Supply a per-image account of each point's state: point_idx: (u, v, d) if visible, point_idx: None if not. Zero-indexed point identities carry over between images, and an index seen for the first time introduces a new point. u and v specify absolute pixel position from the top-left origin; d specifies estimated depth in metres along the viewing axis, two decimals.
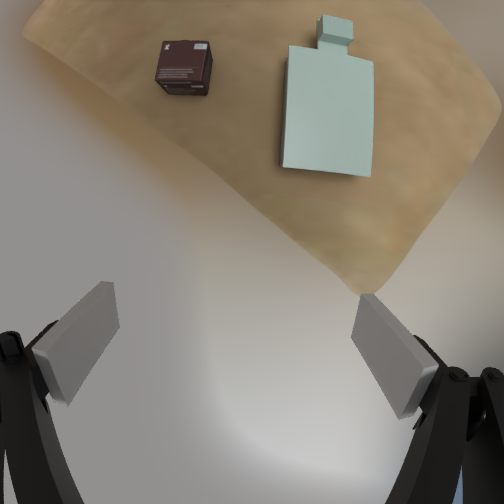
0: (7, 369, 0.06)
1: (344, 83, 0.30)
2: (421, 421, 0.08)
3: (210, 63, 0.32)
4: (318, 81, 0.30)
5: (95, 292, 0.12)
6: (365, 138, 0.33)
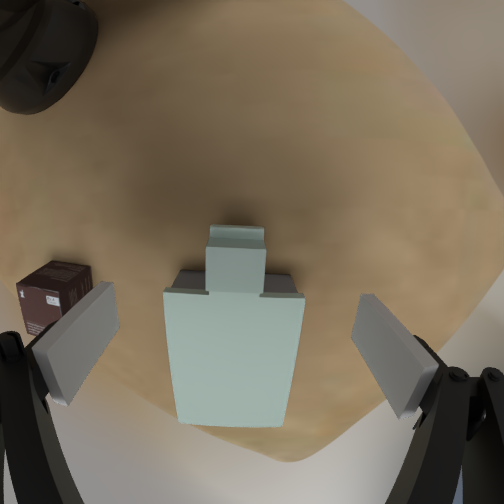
0: (7, 369, 0.06)
1: (250, 343, 0.24)
2: (421, 421, 0.08)
3: (83, 287, 0.26)
4: (210, 345, 0.24)
5: (95, 292, 0.12)
6: (277, 398, 0.26)
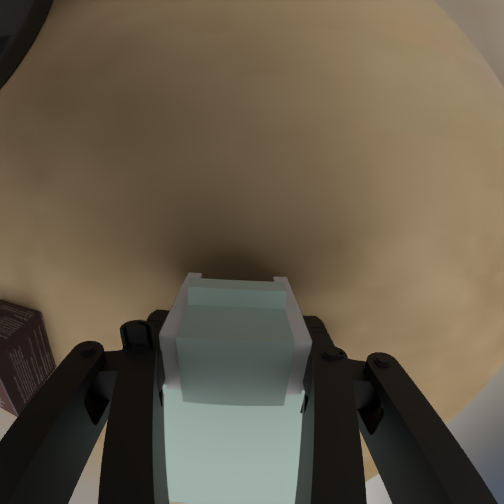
0: (129, 357, 0.08)
1: (257, 440, 0.14)
2: (305, 405, 0.09)
3: (31, 342, 0.16)
4: (199, 441, 0.14)
5: None
6: (291, 485, 0.16)
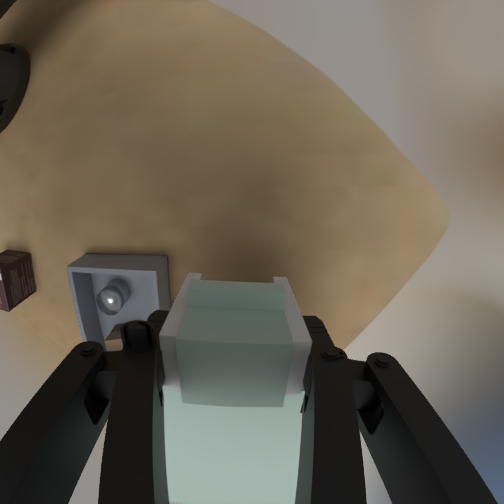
0: (129, 357, 0.08)
1: (257, 441, 0.14)
2: (305, 405, 0.09)
3: (23, 268, 0.29)
4: (199, 442, 0.14)
5: None
6: (291, 486, 0.16)
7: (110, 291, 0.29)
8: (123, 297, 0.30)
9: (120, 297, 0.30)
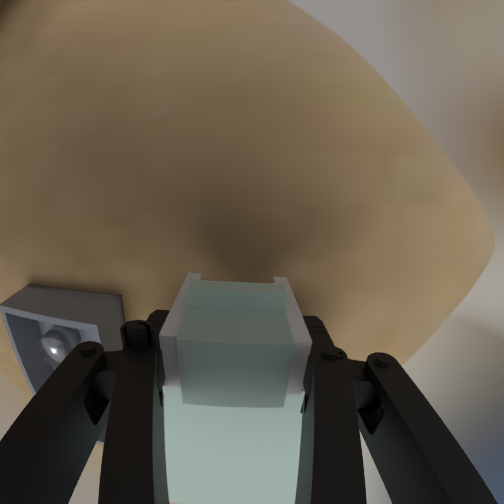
0: (129, 357, 0.08)
1: (257, 441, 0.14)
2: (305, 405, 0.09)
3: None
4: (199, 442, 0.14)
5: None
6: (291, 486, 0.16)
7: (52, 341, 0.19)
8: (70, 347, 0.20)
9: (64, 349, 0.19)
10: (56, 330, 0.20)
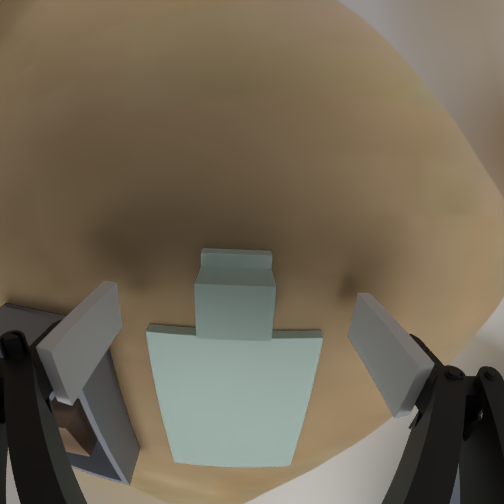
0: (11, 368, 0.06)
1: (254, 388, 0.19)
2: (417, 420, 0.08)
3: None
4: (206, 390, 0.19)
5: (98, 291, 0.12)
6: (285, 440, 0.21)
7: None
8: None
9: None
10: None
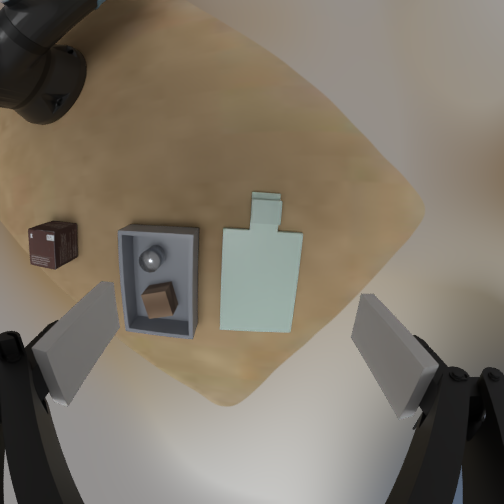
0: (7, 369, 0.06)
1: (271, 261, 0.43)
2: (421, 421, 0.08)
3: (70, 235, 0.39)
4: (248, 262, 0.43)
5: (95, 292, 0.12)
6: (287, 305, 0.45)
7: (154, 252, 0.39)
8: (162, 259, 0.40)
9: (160, 259, 0.39)
10: (154, 248, 0.40)
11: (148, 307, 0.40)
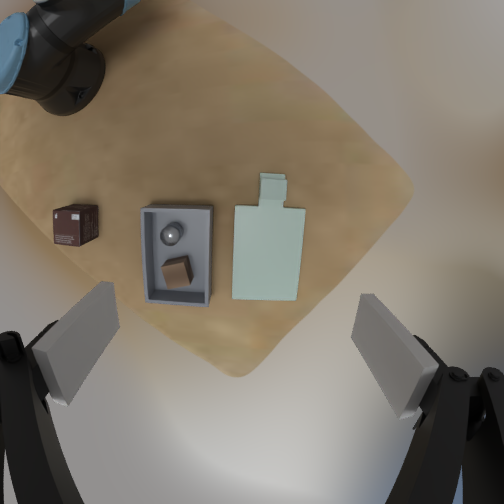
0: (7, 369, 0.06)
1: (278, 234, 0.48)
2: (421, 421, 0.08)
3: (92, 215, 0.44)
4: (257, 235, 0.48)
5: (95, 292, 0.12)
6: (293, 274, 0.50)
7: (174, 228, 0.44)
8: (180, 234, 0.45)
9: (179, 234, 0.45)
10: (174, 225, 0.45)
11: (167, 278, 0.46)
